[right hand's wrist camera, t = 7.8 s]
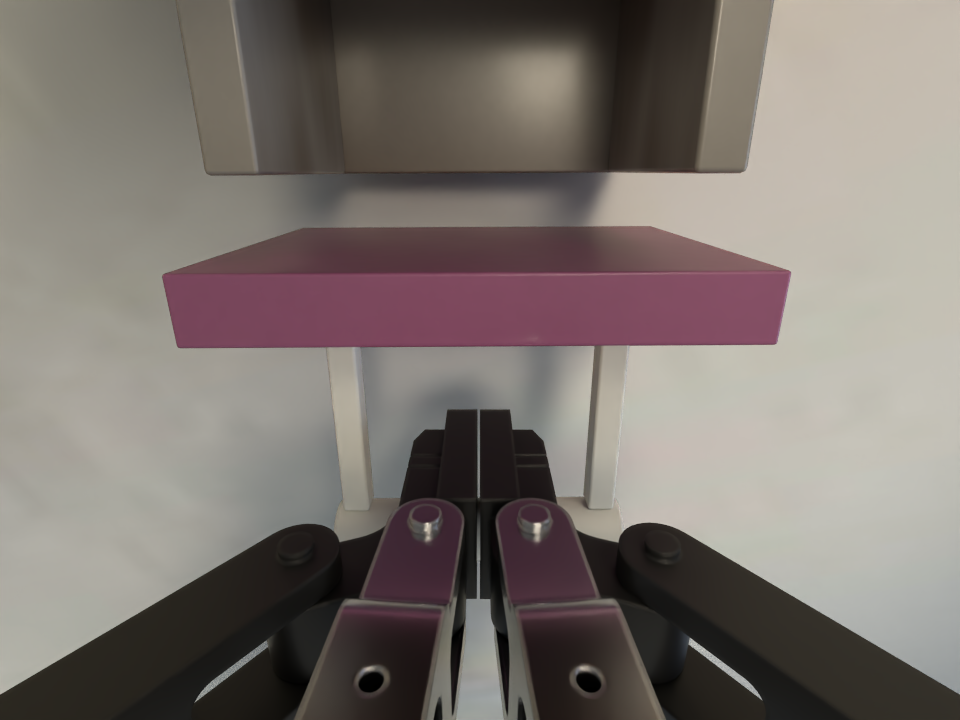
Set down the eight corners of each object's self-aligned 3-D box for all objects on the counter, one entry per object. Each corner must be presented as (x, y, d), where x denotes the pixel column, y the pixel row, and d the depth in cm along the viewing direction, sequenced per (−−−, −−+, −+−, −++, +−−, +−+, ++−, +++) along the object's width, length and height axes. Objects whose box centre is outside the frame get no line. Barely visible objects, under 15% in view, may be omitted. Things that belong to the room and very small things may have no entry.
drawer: (626, 458, 17) (719, 635, 10) (329, 460, 17) (239, 639, 10) (712, -346, 10) (1083, -1162, 4) (234, -347, 10) (-153, -1170, 4)
